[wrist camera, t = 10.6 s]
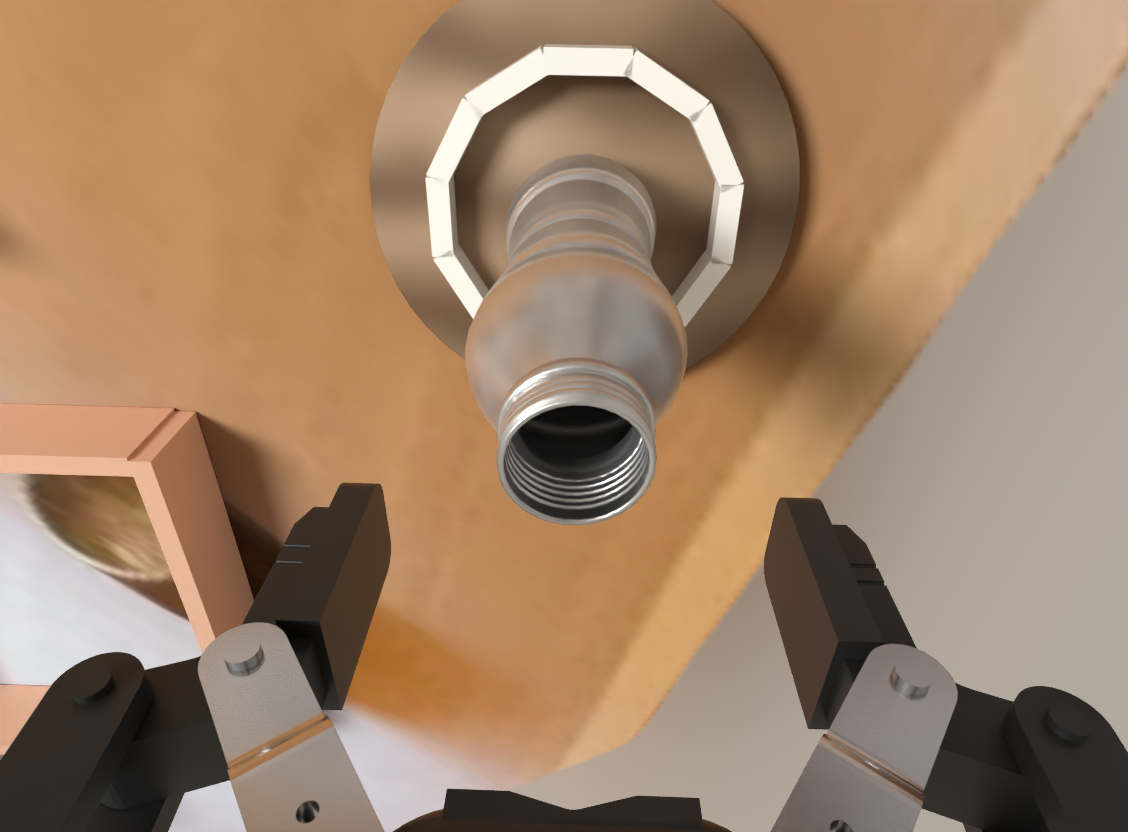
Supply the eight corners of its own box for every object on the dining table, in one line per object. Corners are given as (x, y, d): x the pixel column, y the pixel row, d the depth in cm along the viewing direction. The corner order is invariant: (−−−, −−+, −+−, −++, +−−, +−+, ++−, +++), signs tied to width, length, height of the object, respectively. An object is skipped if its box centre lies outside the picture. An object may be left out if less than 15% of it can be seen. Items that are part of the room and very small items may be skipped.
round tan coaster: (347, -46, 29) (338, -46, 28) (835, -36, 28) (845, -37, 27) (400, 380, 39) (395, 390, 38) (756, 389, 39) (760, 400, 38)
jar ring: (421, 41, 29) (413, 44, 28) (756, 48, 29) (764, 51, 28) (445, 342, 37) (440, 355, 35) (712, 349, 36) (717, 363, 35)
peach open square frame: (-268, 396, 41) (-366, 444, 37) (194, 408, 41) (149, 458, 36) (-56, 691, 56) (-108, 750, 51) (286, 703, 55) (261, 763, 51)
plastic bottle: (672, 245, 34) (764, 515, 17) (547, 302, 35) (514, 600, 18) (617, 115, 31) (661, 284, 14) (484, 184, 32) (375, 411, 15)
